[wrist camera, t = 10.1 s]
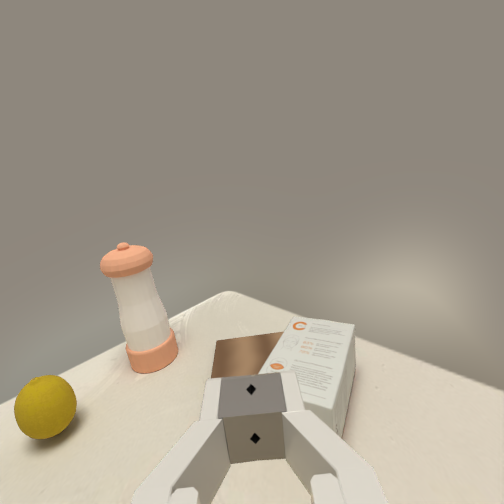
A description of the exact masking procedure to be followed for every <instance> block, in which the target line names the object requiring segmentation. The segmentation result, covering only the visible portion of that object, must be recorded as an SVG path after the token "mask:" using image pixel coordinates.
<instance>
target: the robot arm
mask: <svg viewBox="0 0 504 504" xmlns="http://www.w3.org/2000/svg"><path fill="white" fill-rule="evenodd" d="M273 459H286V461H287V463H288V464H289V465H290V467H291V468H292V470H293V471H294V472H295V474H296V475H297V477H298V478H299V480H300V481H301V482H302V484H303V485H304V487H305V488H306V490H307V491H308V492H309V494H310V495H311V504H389V503H388V501H387V498H386V496H385V494H384V491H383V489H382V487H381V484H380V482H379V479H378V477H377V475H376V472H375V470H374V468H373V467H372V466H371V465H370V464H369V463H368V462H367V461H366V460H364V459H363V458H362V457H361V456H360V455H359V454H358V453H357V452H356V451H355V450H354V449H352V448H351V447H350V446H349V445H348V444H347V443H346V442H345V441H344V440H343V439H341V438H340V437H339V436H338V435H337V434H336V433H335V432H334V431H333V430H332V429H331V428H329V427H328V426H327V425H326V424H325V423H324V422H323V421H322V420H321V419H320V418H318V417H317V416H316V415H315V414H314V413H313V412H312V411H311V410H305V407H304V403H303V399H302V395H301V391H300V387H299V383H298V379H297V375H296V372H295V370H289V371H281V372H274V373H265V374H256V375H245V376H232V377H222V378H210V379H207V381H206V383H205V389H204V395H203V401H202V407H201V413H200V418H199V421H194V423H193V424H192V425H191V426H190V427H189V428H188V430H187V431H186V432H185V433H184V434H183V435H182V437H181V438H180V439H179V440H178V441H177V442H176V444H175V445H174V446H173V447H172V448H171V449H170V451H169V452H168V453H167V454H166V455H165V456H164V458H163V459H162V460H161V461H160V462H159V463H158V465H157V466H156V467H155V468H154V469H153V470H152V472H151V473H150V474H149V475H148V476H147V477H146V479H145V480H144V481H143V482H142V483H141V484H140V486H139V487H138V488H137V489H136V490H135V492H134V495H133V498H132V501H131V504H211V502H212V501H213V499H214V497H215V495H216V493H217V491H218V489H219V487H220V485H221V483H222V482H223V480H224V478H225V476H226V474H227V472H228V470H229V468H230V464H235V463H243V462H250V461H258V460H273Z"/></svg>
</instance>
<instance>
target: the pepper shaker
mask: <svg viewBox="0 0 504 504" xmlns="http://www.w3.org/2000/svg"><path fill="white" fill-rule="evenodd" d="M152 261H153V255H152V253H151V251H149V250H148V249H147V248H146V247H143V246H137V245H131V246H129V244H127V243H120V244H119V245H117V249H115V250H112V251H111V252H109V253H107V254H106V255H105V256H104V257H103V258H102V260H101V263H100V269H101V271H102V272H103V274H104V275H106V276H107V277H110V279H111V282H112V285H113V289H114V292H115V295H116V298H117V302H118V307H119V315H120V323H121V328H122V331H123V334H124V336H125V339H126V342H127V344H126V351H127V354H128V357H129V360H130V363H131V366H132V369H133V370H134V371H136V372H138V373H151V372H154V371H158V370H160V369H162V368H164V367H166V366H167V365H169V364H170V363H171V362H172V361H173V360H174V359H175V358H176V356H177V354H178V347H177V343H176V339H175V335H174V331H173V330H172V329H171V328H170V326H169V322H168V317H167V313H166V310H165V308H164V306H163V304H162V302H161V300H160V298H159V296H158V293H157V291H156V287H155V284H154V280H153V276H152V273H151V269H150V266H151V265H152Z"/></svg>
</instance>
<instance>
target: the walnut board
mask: <svg viewBox="0 0 504 504" xmlns="http://www.w3.org/2000/svg"><path fill="white" fill-rule="evenodd" d="M282 334H283V332H278V333H270V334H263V335H255V336H248V337H240V338H233V339H226V340H218V341H217V342H216V349H215V355H214V362H213V368H212V375H211V378H222V377H232V376H245V375H256V374H258V373H259V371H260V370H261V368H262V366H263V365H264V363H265V361H266V360H267V358H268V357H269V355H270V353H271V352H272V350H273V349H274V347H275V346H276V344H277V342H278V340H279V339H280V337H281V336H282Z"/></svg>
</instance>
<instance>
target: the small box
mask: <svg viewBox="0 0 504 504" xmlns="http://www.w3.org/2000/svg"><path fill="white" fill-rule="evenodd" d="M355 367H356V360H355V325H353V324H346V323H339V322H333V321H328V320H321V319H310V318H302V317H293V318H292V319H291V321H290V323H289V324H288V326H287V328H286V329H285V331H284V332H283V334H282V336H281V337H280V339H279V340H278V342H277V344H276V346H275V347H274V349H273V350H272V352H271V353H270V355H269V357H268V358H267V360H266V361H265V363H264V365H263V366H262V368H261V370H260V371H259V373H258V374H265V373H274V372H281V371H289V370H295V372H296V375H297V379H298V383H299V387H300V391H301V395H302V399H303V403H304V407H305V410H311V411H312V412H313V413H314V414H315V415H316V416H317V417H318V418H320V419H321V420H322V421H323V422H324V423H325V424H326V425H327V426H328V427H329V428H331V429H332V430H333V431H334V432H335V433H336V434H337V435H338V436H339V437H340V438H341V437H342V433H343V428H344V423H345V418H346V413H347V408H348V403H349V398H350V393H351V388H352V383H353V378H354V373H355Z"/></svg>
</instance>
